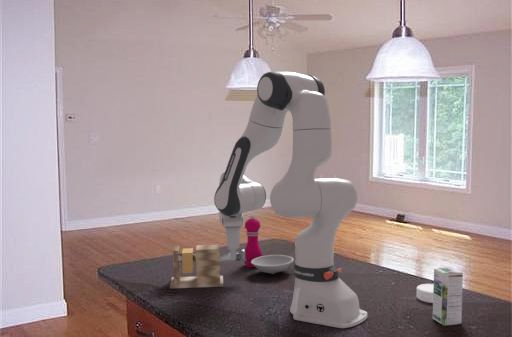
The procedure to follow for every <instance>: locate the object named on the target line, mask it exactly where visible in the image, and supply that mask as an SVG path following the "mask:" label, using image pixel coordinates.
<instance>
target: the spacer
mask: <svg viewBox="0 0 512 337" xmlns="http://www.w3.org/2000/svg"><path fill="white" fill-rule="evenodd" d="M181 254H182V262H181V265H182V266H181V270H182V274H193V273H194V263H195V262H193V254H194V248H193V247H189V248H187V247H186V248H182V252H181Z"/></svg>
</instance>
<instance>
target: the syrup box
mask: <svg viewBox="0 0 512 337" xmlns="http://www.w3.org/2000/svg"><path fill="white" fill-rule="evenodd" d="M463 274H464V272H463V271H459V270H457V269H454V268H453V267H446V266H445V267H444V266H443V267H442V266H441V267H437V268H435V267H434V269H433V284H434V289H433V303H432V320H434V321H436V322H438V323H439V324H441V325H442V326H444V327H445V326H446V327H447V326H456V325H461V324H462V321H463V320H462V318H463V317H462V316H463V313H462V312H463V284H464V283H463V280H464V275H463Z"/></svg>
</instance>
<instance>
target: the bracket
mask: <svg viewBox="0 0 512 337" xmlns="http://www.w3.org/2000/svg"><path fill="white" fill-rule="evenodd" d="M220 246H221V245H220V244H197V245H196V246H195V254H196V262H195V264H196V265H195V266H196V267H195V268H196V269H195V270H196V276H181V262H179V254H181V251H180V249H181V246H180V245H174V247H173V254H172V260H173V259H174V263H173V276H172V277H171V279H170V283H169V289H186V288H187V289H189V288H196V289H197V288H218V287H219V288H220V287H224V275H221V261H220V253H221V252H220V249H221V248H220Z"/></svg>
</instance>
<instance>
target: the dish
mask: <svg viewBox="0 0 512 337" xmlns="http://www.w3.org/2000/svg"><path fill="white" fill-rule="evenodd" d="M294 259H295V258H294V257H292V256H289V255H285V254H268V255H262V256H261V257H257V258H255V259H253V260H252V261H251V263H252V264H253V265H254V266H255V268H256V269H257V270H258V271H260V272H263V273H266V274H270V275H275V274H277V273H280V272H282V271H284V270H286V269H287V268H288V267H289V266H290V265H291V264H292V263H293V262H295V260H294Z"/></svg>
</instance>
